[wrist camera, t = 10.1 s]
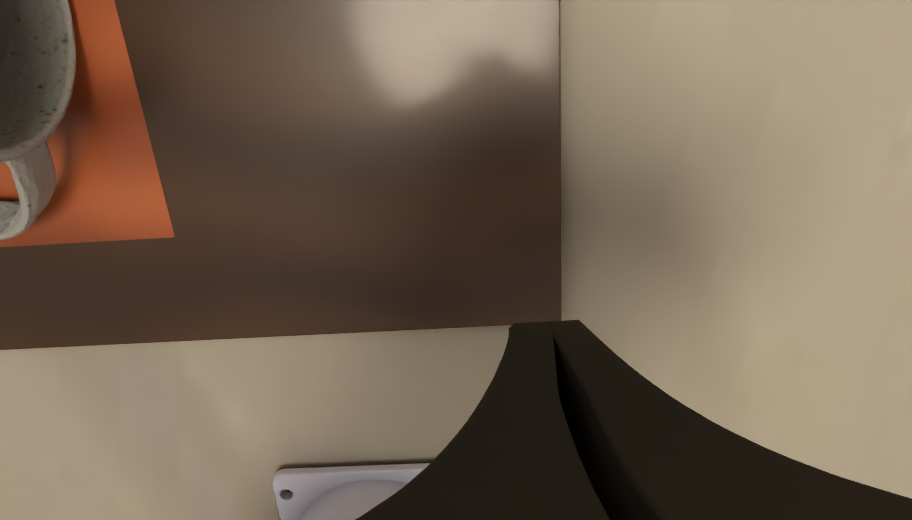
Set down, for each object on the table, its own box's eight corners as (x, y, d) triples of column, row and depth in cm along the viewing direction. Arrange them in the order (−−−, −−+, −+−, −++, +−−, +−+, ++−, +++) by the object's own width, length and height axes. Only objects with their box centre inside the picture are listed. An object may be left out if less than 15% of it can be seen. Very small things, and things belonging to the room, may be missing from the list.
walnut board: (559, 318, 22) (560, 323, 22) (-107, 351, 23) (-115, 355, 23) (558, -183, 16) (559, -186, 16) (-326, -106, 17) (-339, -108, 17)
